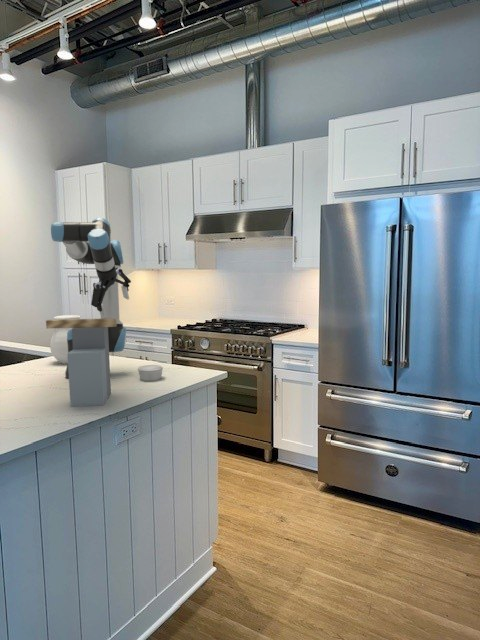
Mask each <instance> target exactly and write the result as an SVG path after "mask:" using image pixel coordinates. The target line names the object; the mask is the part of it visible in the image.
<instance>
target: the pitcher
mask: <svg viewBox="0 0 480 640" xmlns="http://www.w3.org/2000/svg"><path fill="white" fill-rule="evenodd" d="M81 317H82V316H80V315H78V314H64V315H63V314H62V315H56V316H54V317H53V320H64V319H81ZM70 329H72V328H51V330H53V333H52V335H51V338H50V343H49V347H50V348H49V349H50V353H51V355H52V356H53V357H54V359H55V360H56V361H58V362H59V363H61V364H62V365H67V364H68V356H67V353H68V343H67V332H68V331H69V330H70Z"/></svg>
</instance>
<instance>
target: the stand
mask: <svg viewBox="0 0 480 640" xmlns="http://www.w3.org/2000/svg"><path fill="white" fill-rule="evenodd" d="M72 342H73V350H71V351H70V352H69V353H67V356H68V373H69V379H68V386H69V387H68V388H69V404H70V407H82V406H83V407H86V406H87V407H90V406H91V407H92V406H104V405H105V404H106V402H107V401H108V399H109V397H110V395H111V394H112V389H111V386H112V385H111V369H110V368H111V367H110V352H109V340H108V327H88V328H72Z"/></svg>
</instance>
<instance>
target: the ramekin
mask: <svg viewBox="0 0 480 640" xmlns="http://www.w3.org/2000/svg"><path fill="white" fill-rule="evenodd" d="M137 371H138V375H139V378H140V380H141V381H144V382H154V381H155V382H156V381H158V380H161V378H162V375H163V366H162V365H159V364H148V365H142V366H139V367H138V368H137Z"/></svg>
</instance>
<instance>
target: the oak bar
mask: <svg viewBox="0 0 480 640" xmlns="http://www.w3.org/2000/svg"><path fill="white" fill-rule="evenodd" d="M45 326H46V327H45V328H46V329H52V328H56V329H57V328H88V327H116V326H117V318H106V319H101V318H80V319H64V320H54V319H47V320H45Z"/></svg>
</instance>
